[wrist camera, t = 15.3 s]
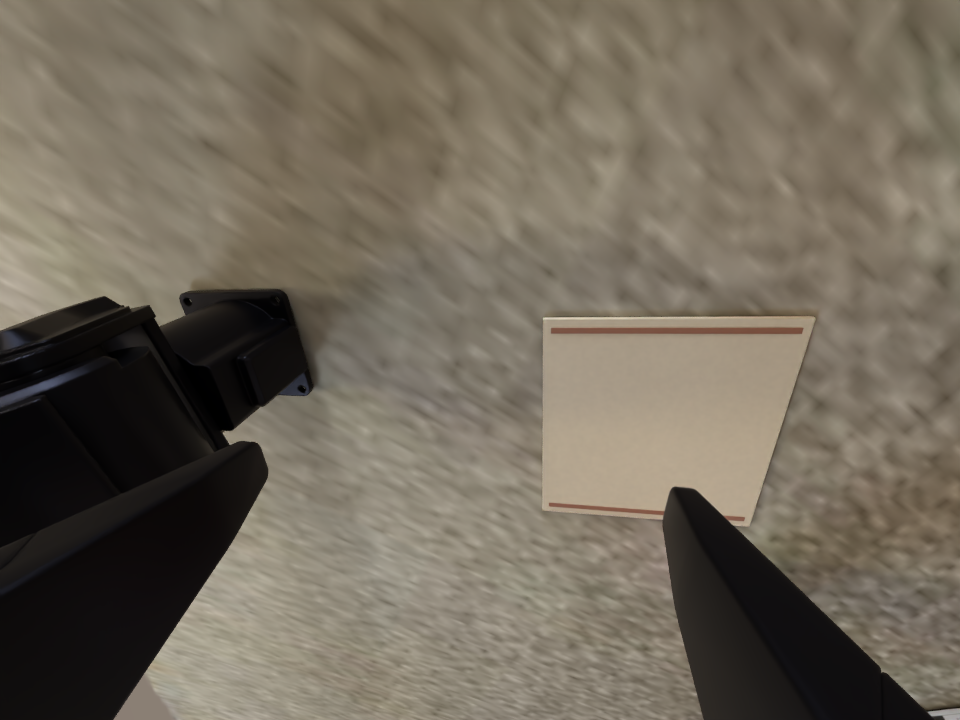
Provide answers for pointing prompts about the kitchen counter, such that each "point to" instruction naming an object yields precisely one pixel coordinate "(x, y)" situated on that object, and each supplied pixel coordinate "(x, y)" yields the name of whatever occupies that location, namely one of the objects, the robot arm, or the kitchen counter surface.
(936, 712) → the light bulb box
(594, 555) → the kitchen counter surface
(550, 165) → the kitchen counter surface
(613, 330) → the napkin
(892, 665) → the kitchen counter surface
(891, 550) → the kitchen counter surface
